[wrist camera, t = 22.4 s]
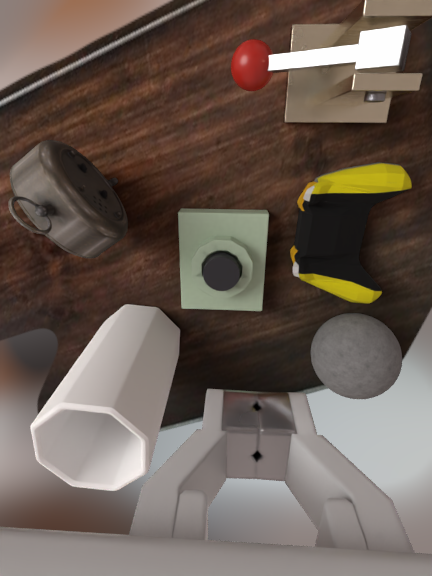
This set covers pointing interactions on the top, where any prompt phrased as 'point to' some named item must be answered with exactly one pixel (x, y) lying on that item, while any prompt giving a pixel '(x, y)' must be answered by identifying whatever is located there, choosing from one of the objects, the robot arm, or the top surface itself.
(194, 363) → the top surface
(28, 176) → the alarm clock
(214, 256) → the button
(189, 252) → the button box
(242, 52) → the switch lever
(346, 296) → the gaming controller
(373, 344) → the decorative ball
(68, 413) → the cup
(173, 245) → the top surface
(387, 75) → the switch bracket
